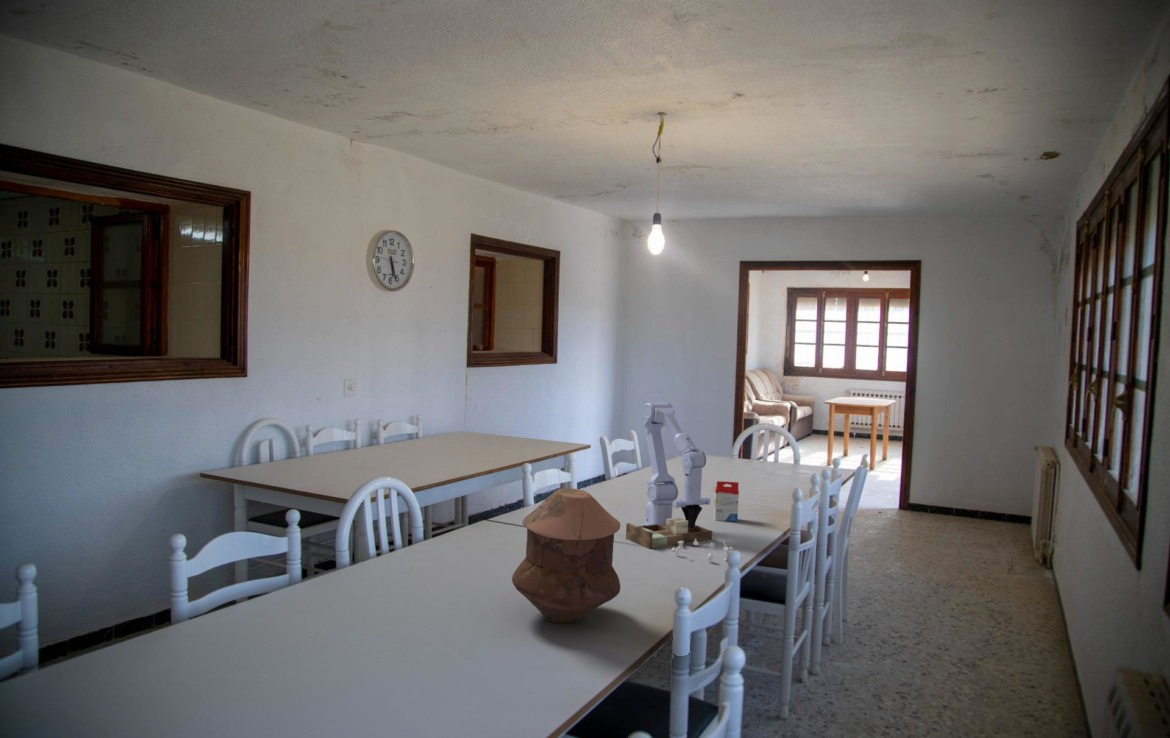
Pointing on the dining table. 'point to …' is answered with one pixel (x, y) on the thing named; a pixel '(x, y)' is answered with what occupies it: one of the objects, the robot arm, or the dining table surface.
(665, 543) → the trap board
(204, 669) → the dining table surface
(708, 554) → the game piece set
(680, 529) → the birch block
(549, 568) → the pottery vessel
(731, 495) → the ink box
